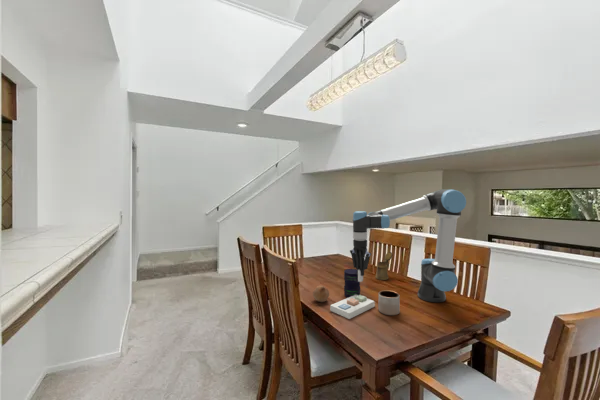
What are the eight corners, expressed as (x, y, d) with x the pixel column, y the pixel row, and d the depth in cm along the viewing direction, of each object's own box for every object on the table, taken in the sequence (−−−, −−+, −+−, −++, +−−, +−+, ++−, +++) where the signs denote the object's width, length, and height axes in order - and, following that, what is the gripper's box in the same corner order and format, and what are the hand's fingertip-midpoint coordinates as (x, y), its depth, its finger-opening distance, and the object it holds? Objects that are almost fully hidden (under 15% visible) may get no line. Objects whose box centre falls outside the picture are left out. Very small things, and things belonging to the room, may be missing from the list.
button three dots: (358, 306, 154) (358, 300, 154) (353, 308, 151) (353, 302, 151) (352, 303, 158) (352, 297, 157) (346, 306, 155) (346, 300, 154)
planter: (396, 318, 143) (397, 299, 143) (375, 313, 149) (375, 295, 148) (401, 309, 152) (401, 292, 152) (381, 305, 158) (381, 288, 158)
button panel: (374, 306, 157) (374, 301, 157) (349, 319, 142) (349, 313, 142) (355, 299, 167) (355, 294, 166) (330, 310, 152) (330, 305, 152)
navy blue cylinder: (340, 295, 173) (340, 271, 172) (349, 290, 180) (349, 267, 179) (354, 299, 166) (354, 274, 165) (363, 294, 173) (363, 271, 172)
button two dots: (366, 302, 159) (366, 296, 159) (361, 305, 156) (361, 299, 156) (359, 300, 162) (359, 294, 162) (354, 302, 159) (354, 296, 159)
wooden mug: (395, 277, 204) (395, 253, 203) (381, 280, 198) (381, 255, 197) (386, 274, 212) (386, 250, 211) (372, 277, 206) (373, 252, 205)
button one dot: (350, 312, 150) (350, 305, 149) (345, 314, 147) (345, 308, 146) (343, 309, 153) (343, 303, 153) (338, 311, 150) (338, 305, 150)
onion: (324, 308, 162) (327, 296, 157) (309, 302, 165) (312, 289, 160) (329, 296, 170) (332, 284, 165) (314, 291, 173) (317, 279, 168)
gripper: (374, 239, 154) (374, 282, 155) (354, 236, 164) (355, 276, 165) (366, 241, 149) (366, 285, 150) (346, 238, 159) (347, 279, 160)
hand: (360, 281), depth 158 cm, fingers closed
